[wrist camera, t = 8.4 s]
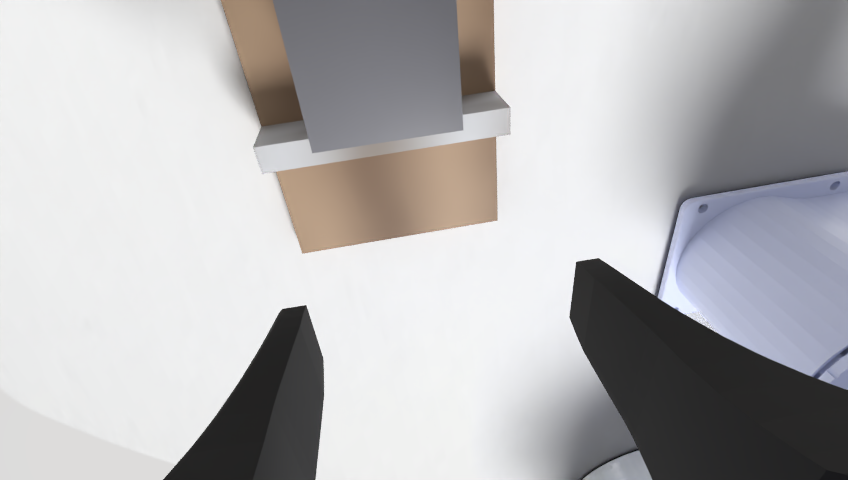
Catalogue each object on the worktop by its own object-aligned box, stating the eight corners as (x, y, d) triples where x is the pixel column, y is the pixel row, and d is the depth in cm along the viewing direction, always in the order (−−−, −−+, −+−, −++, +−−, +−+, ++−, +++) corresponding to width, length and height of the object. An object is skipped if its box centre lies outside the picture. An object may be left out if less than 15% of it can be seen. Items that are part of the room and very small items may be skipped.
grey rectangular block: (417, -57, 15) (453, -47, 10) (429, 71, 17) (463, 130, 12) (292, -41, 15) (266, -23, 10) (321, 86, 17) (312, 153, 12)
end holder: (478, -394, 12) (511, -471, 9) (492, 211, 22) (510, 245, 20) (113, -360, 11) (54, -432, 9) (303, 243, 22) (298, 281, 19)
